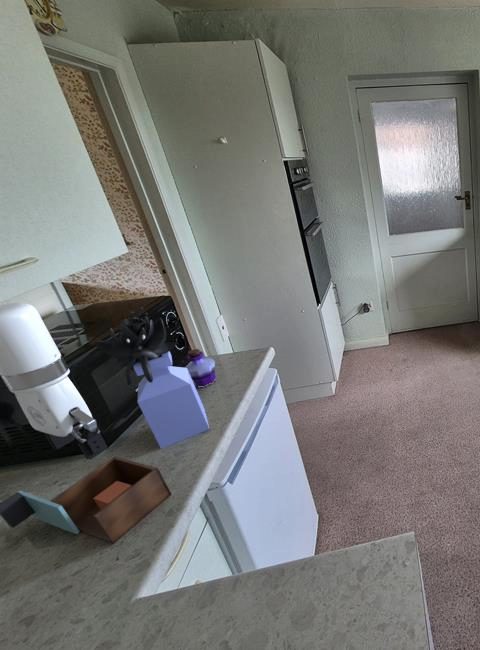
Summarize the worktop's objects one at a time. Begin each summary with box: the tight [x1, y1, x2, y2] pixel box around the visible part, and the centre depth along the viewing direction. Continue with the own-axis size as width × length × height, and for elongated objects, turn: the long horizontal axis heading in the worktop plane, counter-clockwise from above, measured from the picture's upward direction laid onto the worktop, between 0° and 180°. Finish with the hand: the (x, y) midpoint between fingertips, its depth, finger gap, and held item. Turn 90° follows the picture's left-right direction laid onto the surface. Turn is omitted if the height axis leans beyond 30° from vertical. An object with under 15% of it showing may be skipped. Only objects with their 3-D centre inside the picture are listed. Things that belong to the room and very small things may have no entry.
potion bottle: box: [184, 348, 216, 386], centre depth 121 cm, size 9×9×12 cm
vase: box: [93, 306, 210, 450], centre depth 94 cm, size 14×12×35 cm
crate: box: [50, 455, 172, 545], centre depth 78 cm, size 12×14×8 cm
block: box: [93, 481, 132, 510], centre depth 79 cm, size 4×4×4 cm
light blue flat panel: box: [0, 490, 81, 535], centre depth 74 cm, size 4×14×8 cm, turn 72°
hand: (81, 449), depth 73 cm, fingers open, 9 cm apart
